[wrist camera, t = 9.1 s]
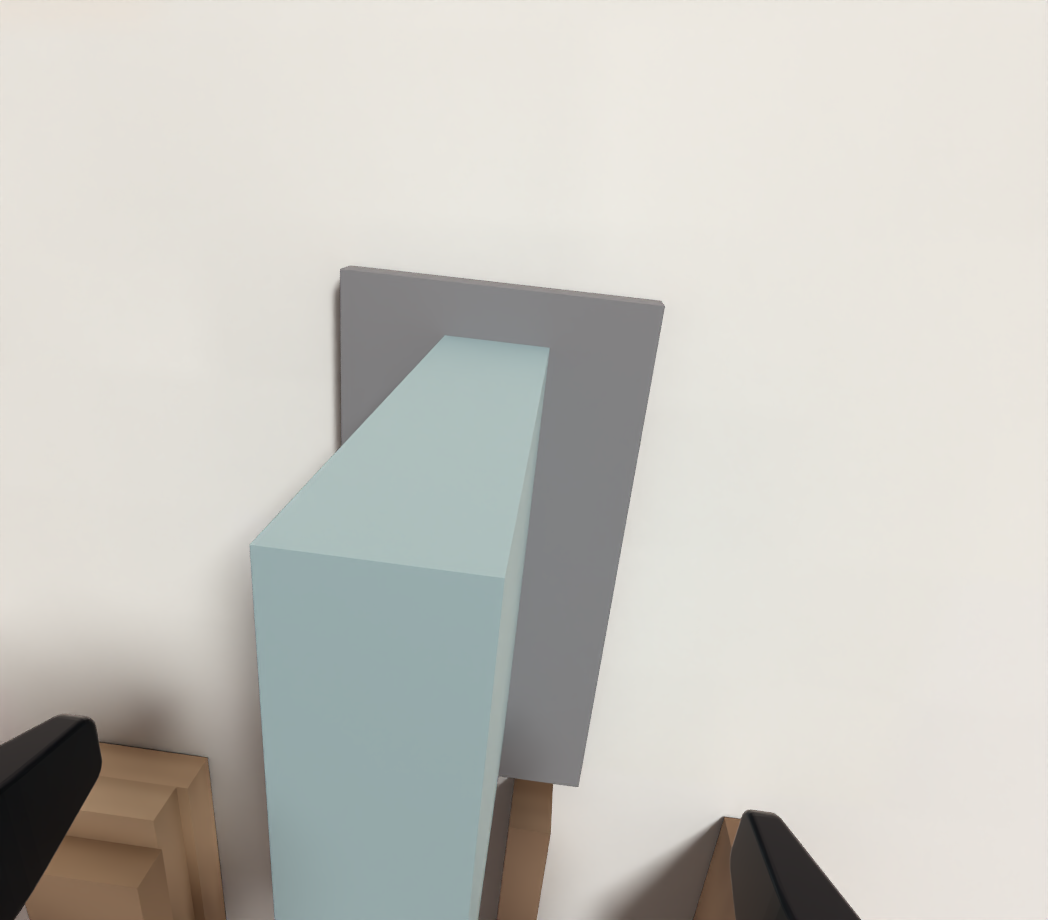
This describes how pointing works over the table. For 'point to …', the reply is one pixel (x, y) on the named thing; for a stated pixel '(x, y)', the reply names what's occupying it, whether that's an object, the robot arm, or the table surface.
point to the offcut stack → (138, 845)
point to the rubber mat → (560, 475)
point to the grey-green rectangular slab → (398, 642)
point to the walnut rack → (531, 850)
